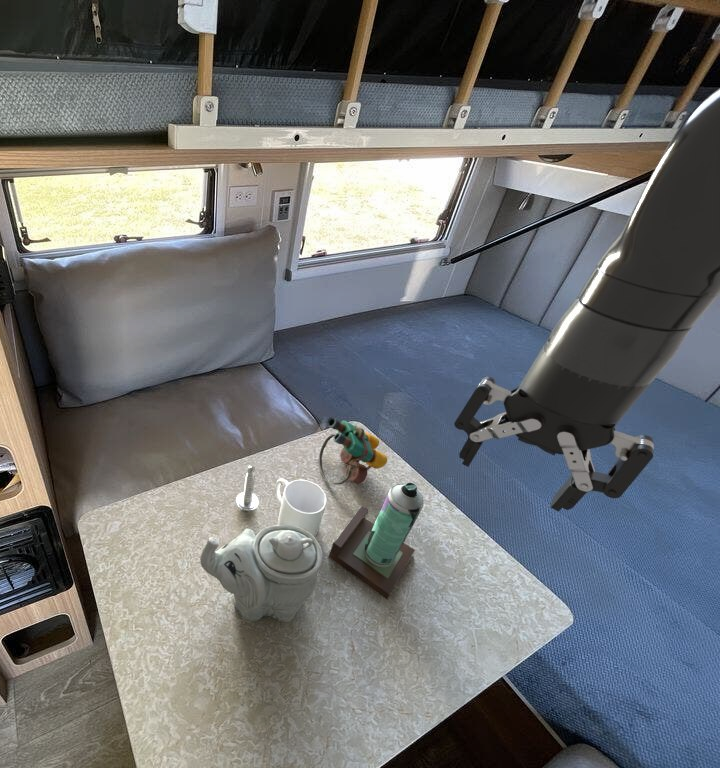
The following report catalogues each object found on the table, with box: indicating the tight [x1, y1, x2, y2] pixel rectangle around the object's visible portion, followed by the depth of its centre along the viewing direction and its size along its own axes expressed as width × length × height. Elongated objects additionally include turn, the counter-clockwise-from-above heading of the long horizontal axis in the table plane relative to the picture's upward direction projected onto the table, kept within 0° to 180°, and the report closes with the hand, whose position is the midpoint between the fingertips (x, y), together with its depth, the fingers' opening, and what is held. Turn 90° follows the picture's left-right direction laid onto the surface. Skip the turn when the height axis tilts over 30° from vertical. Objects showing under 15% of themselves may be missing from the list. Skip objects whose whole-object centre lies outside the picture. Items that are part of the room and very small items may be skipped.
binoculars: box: [318, 416, 388, 486], centre depth 94 cm, size 14×14×15 cm
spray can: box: [364, 482, 425, 567], centre depth 72 cm, size 6×6×20 cm
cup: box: [274, 478, 328, 538], centre depth 83 cm, size 8×12×10 cm
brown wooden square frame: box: [327, 505, 416, 601], centre depth 78 cm, size 12×12×5 cm
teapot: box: [199, 524, 324, 623], centre depth 68 cm, size 16×15×19 cm
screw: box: [235, 465, 259, 513], centre depth 85 cm, size 13×5×5 cm
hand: (509, 482), depth 44 cm, fingers open, 8 cm apart
